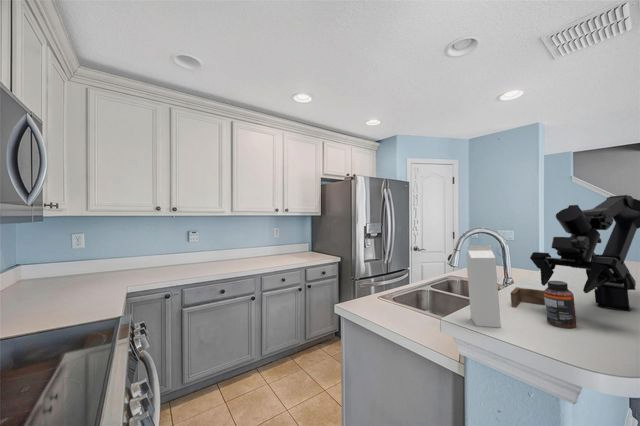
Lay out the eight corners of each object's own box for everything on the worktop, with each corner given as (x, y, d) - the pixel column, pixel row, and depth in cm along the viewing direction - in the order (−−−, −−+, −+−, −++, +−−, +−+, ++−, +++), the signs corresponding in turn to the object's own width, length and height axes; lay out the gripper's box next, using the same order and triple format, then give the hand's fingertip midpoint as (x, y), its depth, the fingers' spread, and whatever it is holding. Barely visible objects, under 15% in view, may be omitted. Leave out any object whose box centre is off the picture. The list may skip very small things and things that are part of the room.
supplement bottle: (563, 319, 72) (560, 279, 72) (583, 328, 66) (579, 284, 66) (540, 320, 72) (537, 279, 73) (558, 329, 66) (554, 285, 67)
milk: (470, 318, 76) (464, 244, 77) (494, 319, 74) (487, 243, 75) (476, 326, 70) (469, 246, 72) (501, 328, 69) (494, 245, 70)
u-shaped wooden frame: (555, 305, 82) (554, 291, 82) (552, 313, 76) (550, 298, 77) (517, 300, 90) (516, 287, 90) (511, 306, 84) (510, 292, 84)
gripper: (531, 226, 81) (511, 264, 77) (615, 226, 64) (596, 275, 60) (548, 249, 84) (529, 287, 79) (633, 254, 67) (616, 304, 62)
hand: (562, 288), depth 70 cm, fingers open, 9 cm apart
